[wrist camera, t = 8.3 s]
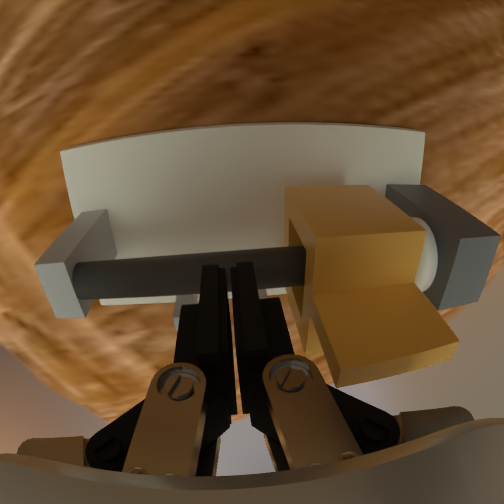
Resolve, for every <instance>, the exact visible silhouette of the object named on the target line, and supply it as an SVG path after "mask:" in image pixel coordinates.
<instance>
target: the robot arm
mask: <svg viewBox="0 0 504 504" xmlns="http://www.w3.org/2000/svg"><path fill="white" fill-rule="evenodd" d="M236 265H237V267H230V271H231V287H232V303H233V318H234V332H235V346H236V357H237V366H238V375H239V384H240V393H241V401H242V410H243V414H248V413H250V418H251V424H252V426H253V427H255V428H256V429H258V430H259V431H261V432H262V433H264V438H265V441H266V445H267V448H268V451H269V453H270V456H271V459H272V462H273V465H274V468H275V471H276V472H270V473H261V474H250V475H236V476H216V471H217V463H218V456H219V449H220V442H221V439H220V436H221V435H222V434H223V433H224V432H225V431H226V430H227V429H228V428H229V427H230V424H231V415H235V414H237V402H236V388H235V374H234V360H233V344H232V330H231V320H230V311H229V301H228V291H227V281H226V271H225V268H219V264H208V265H202V272H201V284H200V297H199V304H185V305H182V306H181V310H180V317H179V325H178V332H177V340H176V348H175V356H174V363H173V364H169V365H167V366H165V367H163V368H161V369H160V370H159V371H158V372H157V373H156V374H155V375H154V377H153V379H152V380H151V383H150V386H149V389H148V392H147V395H146V398H145V399H144V400H143V401H141V402H140V403H139V404H137V405H136V406H134V407H133V408H132V409H130V410H129V411H127V412H126V413H124V414H123V415H122V416H120V417H119V418H117V419H116V420H114V421H113V422H111V423H110V424H109V425H107V426H106V427H104V428H103V429H101V430H100V431H98V432H97V433H96V434H94V436H92V437H91V438H90V439H85V438H84V437H83V436H76V437H59V438H32V439H28V440H26V441H24V442H23V443H22V444H21V445H20V447H19V448H18V451H17V454H9V453H6V454H0V504H504V418H487V419H478V420H474V418H473V416H472V414H471V413H470V412H469V411H468V410H466V409H465V408H462V407H458V406H457V407H455V406H453V407H445V408H437V409H429V410H420V411H409V412H400V414H399V415H395V416H392V415H390V414H388V413H387V412H385V411H383V410H381V409H378V408H376V407H374V406H372V405H370V404H367V403H365V402H363V401H361V400H359V399H357V398H354V397H352V396H350V395H348V394H346V393H344V392H342V391H340V390H338V389H335V388H334V387H332V386H329V385H327V384H326V383H325V381H324V379H323V377H322V375H321V373H320V371H319V369H318V368H317V366H316V365H315V364H314V363H313V362H312V361H311V360H309V359H308V358H306V357H303V356H300V355H295V354H294V351H293V347H292V343H291V339H290V335H289V332H288V328H287V324H286V320H285V316H284V313H283V309H282V305H281V301H280V299H279V297H277V298H266V299H259V294H258V289H257V283H256V278H255V272H254V266H253V261H247V262H236Z"/></svg>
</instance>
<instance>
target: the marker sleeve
mask: <svg viewBox="0 0 504 504" xmlns="http://www.w3.org/2000/svg"><path fill="white" fill-rule="evenodd" d="M426 232H427V230H425V229H424V228H423V227H422V226H421V225H419V224H418V223H417V222H416V221H415V220H413V219H412V218H411V217H410V216H408V215H407V214H406V213H405V212H403V211H402V210H401V209H400V208H398V207H397V206H396V205H394V204H393V203H392V202H391V201H389V200H388V199H387V198H385V197H384V196H383V195H381V194H380V193H379V192H377V191H376V190H375V189H373V188H372V187H371V186H369V185H318V186H289V187H285V219H284V247H287V246H301V245H304V247H305V249H306V267H305V282H304V286H293V287H285V289H286V292H287V296H288V299H289V302H290V305H291V309H292V312H293V315H294V319H295V322H296V325H297V329H298V332H299V335H300V339H301V342H302V346H303V349H304V352H305V355H309V354H316V353H323V352H324V355H325V358H326V361H327V364H328V366H329V369H330V372H331V375H332V378H333V381H334V384H335V387H336V388H339V387H344V386H349V385H354V384H359V383H364V382H368V381H373V380H377V379H381V378H385V377H390V376H394V375H398V374H401V373H405V372H409V371H413V370H416V369H419V368H423V367H426V366H430V365H433V364H436V363H440V362H443V361H446V360H449V359H451V357H452V355H453V353H454V351H455V349H456V347H457V345H458V343H459V340H458V338H457V337H456V335H455V334H454V333H453V331H452V330H451V329H450V327H449V326H448V325H447V323H446V322H445V321H444V319H443V318H442V317H441V316H440V314H439V313H438V312H437V310H436V309H435V308H434V307H433V305H432V304H431V303H430V302H429V300H428V299H427V298H426V297H425V295H424V294H423V293H422V292H421V290H420V289H419V288H418V287H417V285H416V284H415V283H414V281H415V278H416V274H417V270H418V266H419V262H420V258H421V254H422V250H423V246H424V241H425V237H426Z"/></svg>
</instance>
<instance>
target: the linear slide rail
mask: <svg viewBox="0 0 504 504" xmlns="http://www.w3.org/2000/svg"><path fill="white" fill-rule="evenodd" d="M424 142H425V132H422V131H419V130H415V129H409V128H400V127H390V126H378V125H365V124H349V123H324V122H267V123H242V124H225V125H211V126H200V127H189V128H180V129H171V130H163V131H156V132H149V133H142V134H135V135H129V136H123V137H117V138H112V139H106V140H101V141H96V142H91V143H86V144H81V145H77V146H72V147H69V148H67V149H64V150H62V151H60V154H61V159H62V165H63V170H64V175H65V180H66V185H67V190H68V194H69V199H70V203H71V207H72V212H73V216H74V221H73V222H72V223H71V224H70V225H69V226H68V227H67V228H66V229H65V230H64V231H63V232H62V234H61V235H60V236H59V237H58V238H57V239H56V240H55V241H54V242H53V243H52V245H51V246H50V247H49V248H48V249H47V250H46V251H45V253H44V254H43V255H42V256H41V257H40V258H39V260H38V261H37V262H36V263H35V264H34V266H35V268H36V271H37V274H38V276H39V279H40V281H41V284H42V286H43V289H44V291H45V293H46V296H47V298H48V300H49V302H50V305H51V307H52V309H53V311H54V314H55V316H56V318H86V316H87V313H88V311H89V309H90V307H91V305H92V303H93V301H94V299H99V300H100V303H101V305H124V304H148V303H168V302H175V308H174V314H173V320H174V324H175V328H176V332H178V325H179V317H180V310H181V306H182V305H185V304H197V301H199V297H200V284H201V272H202V265H208V264H219V268H225V271H226V281H227V291H228V299H230V298H232V287H231V271H230V267H237V265H236V262H247V261H253V266H254V272H255V278H256V283H257V289H258V294H259V299H266V298H268V297H267V295H278V294H287V292H286V289H285V287H293V286H304V282H305V267H306V249H305V247H304V245H301V246H287V247H284V219H285V187H289V186H318V185H369V186H371V187H372V188H373V189H375V190H376V191H377V192H379V193H380V194H381V195H383V196H384V197H385V198H387V199H388V200H389V201H391V202H392V203H393V204H394V205H396V206H397V207H398V208H400V209H401V210H402V211H403V212H405V213H406V214H407V215H408V216H410V217H411V218H412V219H413V220H415V221H416V222H417V223H418V224H419V225H421V226H422V227H423V228H424V229H425V230H427V232H426V237H425V241H424V246H423V250H422V254H421V258H420V262H419V266H418V270H417V274H416V278H415V281H414V283H415V284H416V285H417V287H418V288H419V289H420V290H421V292H423V293H424V294H425V295H426V297H427V298H428V299H429V300H430V302H431V303H432V304H433V305H434V307H435V308H436V309H437V311H439V310H444V309H448V308H452V307H457V306H461V305H465V304H469V303H473V302H477V301H478V300H479V297H480V295H481V292H482V290H483V287H484V284H485V282H486V279H487V276H488V274H489V271H490V268H491V265H492V262H493V259H494V256H495V253H496V250H497V246H498V243H499V240H500V236H501V235H499V234H498V233H497V232H495V231H494V230H493V229H491V228H490V227H488V226H487V225H486V224H484V223H483V222H481V221H480V220H479V219H477V218H476V217H474V216H473V215H471V214H470V213H468V212H467V211H465V210H464V209H462V208H461V207H459V206H458V205H456V204H455V203H453V202H452V201H450V200H448V199H447V198H445V197H444V196H442V195H440V194H439V193H437V192H436V191H434V190H432V189H431V188H429V187H427V186H426V185H420V179H421V171H422V162H423V153H424Z"/></svg>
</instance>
